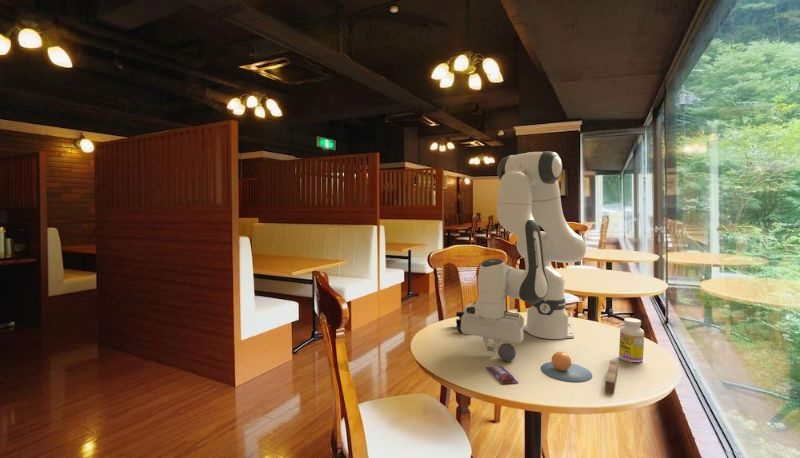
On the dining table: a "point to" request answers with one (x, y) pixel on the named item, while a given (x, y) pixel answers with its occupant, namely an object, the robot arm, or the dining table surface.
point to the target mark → (567, 373)
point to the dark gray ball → (507, 352)
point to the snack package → (502, 374)
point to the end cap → (459, 321)
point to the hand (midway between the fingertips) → (490, 351)
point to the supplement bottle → (631, 341)
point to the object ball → (561, 361)
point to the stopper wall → (611, 377)
